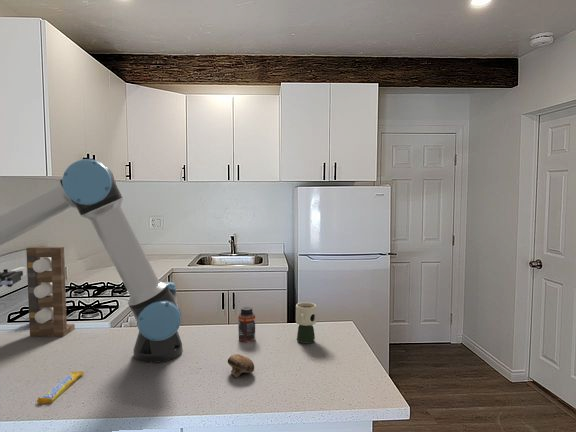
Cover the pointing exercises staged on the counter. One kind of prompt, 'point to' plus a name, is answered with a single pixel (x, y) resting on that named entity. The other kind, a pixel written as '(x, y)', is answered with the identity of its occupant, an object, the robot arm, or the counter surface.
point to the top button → (42, 265)
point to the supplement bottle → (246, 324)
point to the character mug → (305, 322)
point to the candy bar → (60, 387)
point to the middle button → (43, 290)
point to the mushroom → (240, 364)
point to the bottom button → (44, 315)
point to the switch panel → (55, 301)
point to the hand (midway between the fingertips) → (23, 271)
